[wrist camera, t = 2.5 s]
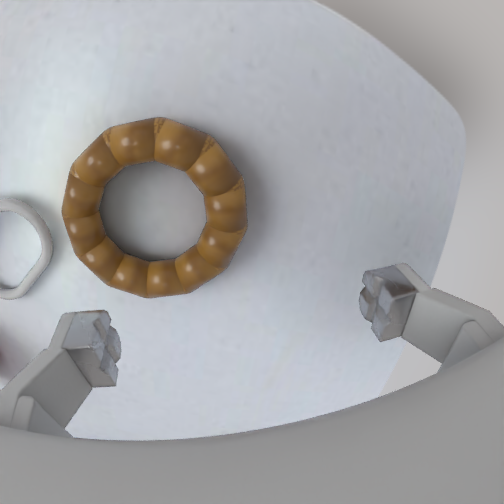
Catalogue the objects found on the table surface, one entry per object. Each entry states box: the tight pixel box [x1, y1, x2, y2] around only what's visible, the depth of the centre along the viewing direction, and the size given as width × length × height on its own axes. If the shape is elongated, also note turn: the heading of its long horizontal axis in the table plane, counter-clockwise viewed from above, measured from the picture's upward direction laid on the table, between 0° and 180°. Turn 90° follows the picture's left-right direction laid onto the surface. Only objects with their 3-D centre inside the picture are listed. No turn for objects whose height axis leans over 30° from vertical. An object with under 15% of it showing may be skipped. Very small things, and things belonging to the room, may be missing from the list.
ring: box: [62, 117, 247, 298], centre depth 16 cm, size 10×10×2 cm
